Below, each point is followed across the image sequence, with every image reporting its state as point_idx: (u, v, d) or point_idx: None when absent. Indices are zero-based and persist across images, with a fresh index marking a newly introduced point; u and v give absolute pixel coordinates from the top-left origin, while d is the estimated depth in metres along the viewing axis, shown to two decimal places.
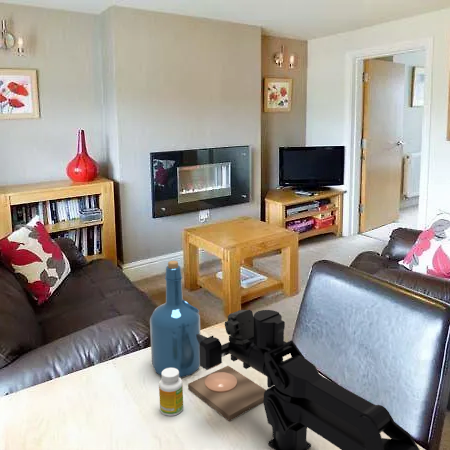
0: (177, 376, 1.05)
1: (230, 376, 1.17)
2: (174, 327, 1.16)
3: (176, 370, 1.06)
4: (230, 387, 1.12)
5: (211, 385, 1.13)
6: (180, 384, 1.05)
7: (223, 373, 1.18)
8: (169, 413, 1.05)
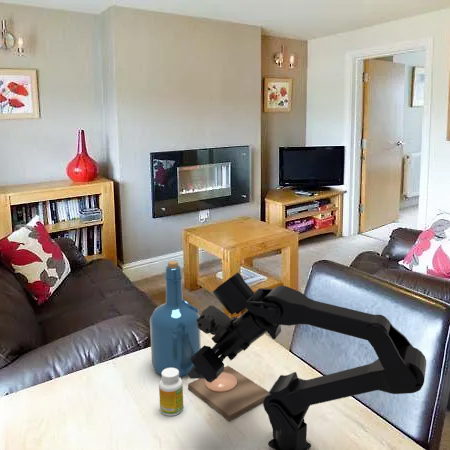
0: (177, 376, 1.05)
1: (230, 376, 1.17)
2: (173, 327, 1.16)
3: (176, 370, 1.06)
4: (230, 387, 1.12)
5: (211, 385, 1.13)
6: (180, 384, 1.05)
7: (223, 373, 1.18)
8: (169, 413, 1.05)
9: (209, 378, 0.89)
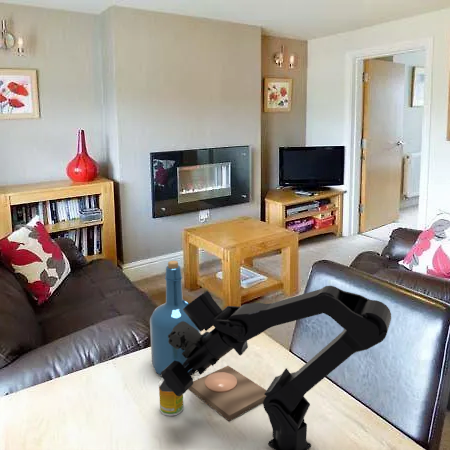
0: None
1: (230, 376, 1.17)
2: None
3: None
4: (230, 387, 1.12)
5: (211, 385, 1.13)
6: None
7: (223, 373, 1.18)
8: (169, 413, 1.05)
9: (178, 392, 0.93)
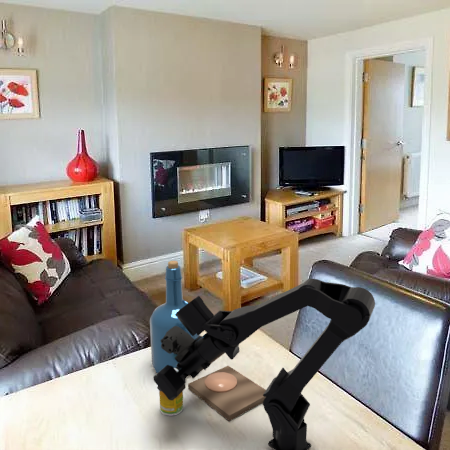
0: None
1: (230, 376, 1.17)
2: None
3: (176, 370, 1.06)
4: (230, 387, 1.12)
5: (211, 385, 1.13)
6: None
7: (223, 373, 1.18)
8: (169, 413, 1.05)
9: (170, 396, 0.94)
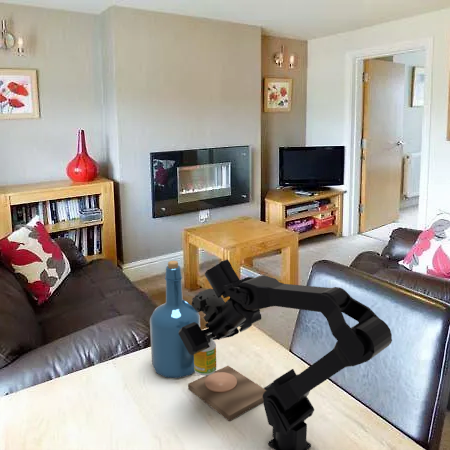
0: None
1: (230, 376, 1.17)
2: (173, 327, 1.16)
3: (210, 333, 1.10)
4: (230, 387, 1.12)
5: (211, 385, 1.13)
6: (212, 346, 1.09)
7: (223, 373, 1.18)
8: (200, 372, 1.09)
9: (190, 351, 0.99)
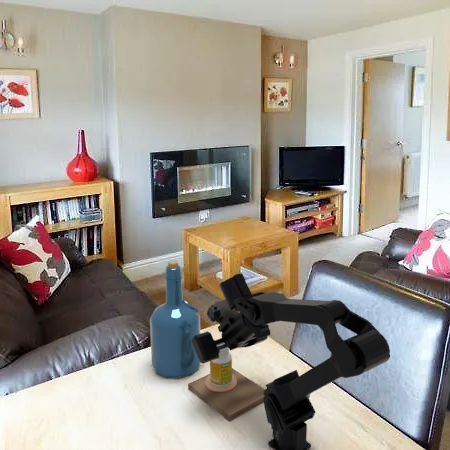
0: (224, 351, 1.11)
1: None
2: (174, 327, 1.16)
3: None
4: (230, 387, 1.12)
5: (211, 385, 1.13)
6: (227, 359, 1.11)
7: None
8: (215, 383, 1.13)
9: (201, 359, 1.02)
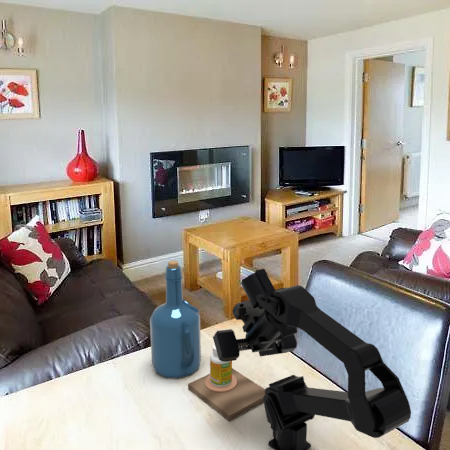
0: None
1: None
2: (174, 327, 1.16)
3: None
4: (230, 387, 1.12)
5: (211, 385, 1.13)
6: None
7: None
8: (215, 383, 1.13)
9: (219, 356, 0.96)
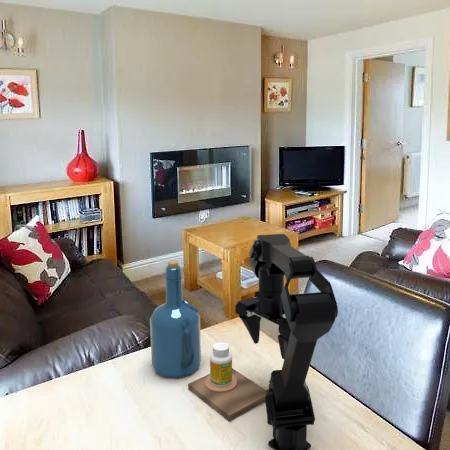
0: (225, 351, 1.11)
1: None
2: (173, 327, 1.16)
3: (227, 346, 1.12)
4: (230, 387, 1.12)
5: (211, 385, 1.13)
6: (227, 359, 1.11)
7: None
8: (215, 383, 1.13)
9: None
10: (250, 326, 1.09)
